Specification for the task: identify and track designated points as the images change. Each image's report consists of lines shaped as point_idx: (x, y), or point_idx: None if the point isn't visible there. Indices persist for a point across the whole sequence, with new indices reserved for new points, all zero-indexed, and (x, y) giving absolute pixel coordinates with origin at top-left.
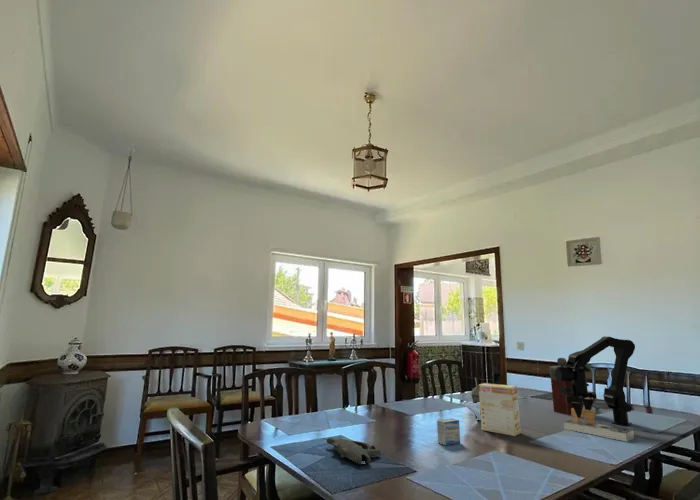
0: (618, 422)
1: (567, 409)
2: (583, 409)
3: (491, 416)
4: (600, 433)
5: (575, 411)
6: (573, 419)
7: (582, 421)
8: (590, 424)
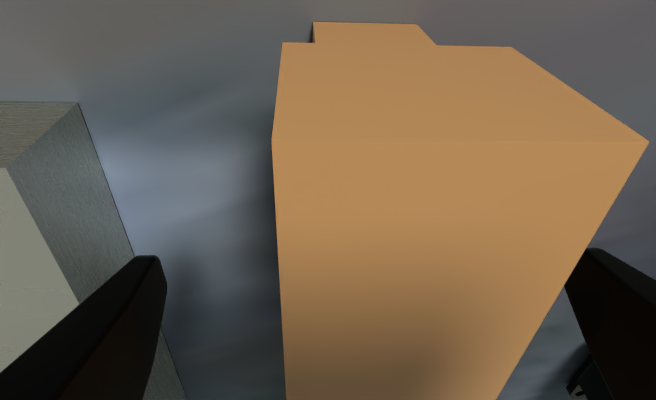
0: (591, 378)
1: None
2: (464, 386)
3: None
4: None
5: (11, 371)
6: (14, 197)
7: None
8: None
